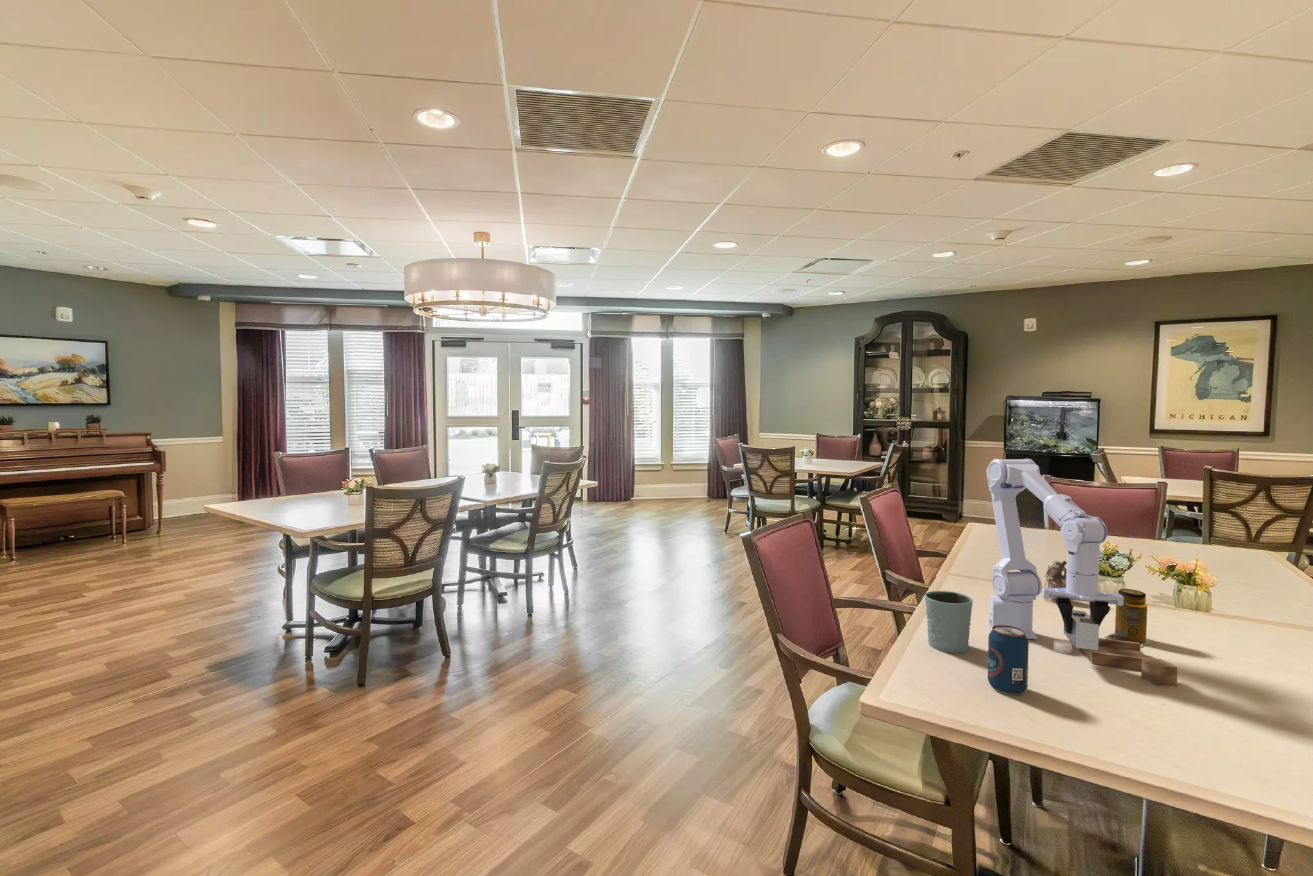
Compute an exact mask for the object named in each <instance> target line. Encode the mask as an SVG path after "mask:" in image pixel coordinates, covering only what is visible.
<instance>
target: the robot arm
mask: <svg viewBox="0 0 1313 876" xmlns="http://www.w3.org/2000/svg"><path fill="white" fill-rule="evenodd" d="M985 472H986V479H987V484H988V491H989V492H990V494H991V500H992V501H991V502H992V507H993V508H992V509H993V513H994V519H995V527H996V533H997V539H998V540H997V541H998V547H999V551H1000V560H999V561H998V562H996V564H995V565H994V566H993V567H992V577H991V578H992V579H991V586H992V589H993V591H994V593H995V594H996V595H990V596H989V604H988V605H989V606H988V626H989V628H990V631H992V627H993V626H996V625H1006V626H1012V627H1016V628H1019V629H1021V630H1023V631H1024V632H1025V636H1026V638H1027V640H1028V639H1029V640H1038V637H1037V635H1036V634H1035V633H1034V631H1033V619H1034V618H1033V617H1034V601H1037V597H1038V596H1039V595H1041V596H1042V597H1043V598H1046V599H1049V598H1054V599H1055V602H1056V603H1057V604H1056V603H1055V604H1056V605H1057V608H1058V610H1059V612H1060V616H1061V618H1062V621H1063V628H1064V627H1065V631H1066V632H1067V633H1068V634H1071V629H1072V626H1071V618H1072V611H1073V610H1074V606H1073V604H1072V601H1076V602H1077V601H1078V602H1087V603H1089V615H1090V616H1091V617H1092V618H1093V619H1094V620H1095V621H1096V622H1097V623H1098V624H1099V628H1100V627H1101V624H1102V623H1103V621H1104V619H1105V617H1106V616H1107V615H1108V614H1109V612H1110V611H1111V606H1109V604H1110V605H1115V606H1116V605H1118V606H1123V598H1124V597H1122V596H1121V595H1119V593H1118V594H1117V593H1110V592H1103V591H1099V576H1100V575H1099V574H1100V547H1101V546H1100V544H1102V543H1104V542H1105V541H1106V539H1107V537H1108V528H1107V526H1106V524H1105V523H1104V521H1103V519H1102V518H1100V517H1098V516H1093V515H1090V514H1087V513H1086V512H1085V511H1084V509H1082V508H1081V507H1080V506H1079V505H1078V504H1076V503H1075V502H1074V501H1073V499H1072V497H1071V496H1070V495H1067V494H1064V493H1059V494H1058V492H1056V490H1055V489H1054V488H1053V487H1052V486H1051V485H1050V484H1049V483H1048V481H1047V480H1046V478H1044V477H1043V476H1042V475H1041V474H1040V473H1041V472H1040V466H1039V465H1037V464H1036V462H1035V461H1034V460H1033V459H1030V458H1023V459H1022V458H1020V459H1006V458H1005V459H1000V458H994V459H993V460H991V461H990V463H989V465H988V466H987V468H986V470H985ZM1026 489H1027V491H1029V492H1030V493H1032V495H1034V496H1035V497H1036V498H1038V499H1039V500H1040V501H1041V502H1042V503H1043V511H1044V512H1045V513H1046V514H1047V515H1048V516H1049V517H1050V518H1051V519H1052V521H1054V522H1055V523H1056V525H1057V526H1058V527H1059V528H1060V533H1061V534H1060V535H1061V537H1062V539H1063V541H1064V549H1065V551H1066V562H1067V563H1066V569H1067V570H1066V588H1044V586H1043V583H1042V580H1041V577H1040V576H1039V574H1038V571H1037V566H1036V565H1035V564H1033V563H1032V562H1030V561H1029V560H1028V559H1027V558H1026V554H1025V547H1024V542H1023V541H1024V540H1023V535H1022V530H1021V523H1020V517H1019V512H1018V506H1017V500H1016V497H1017V496H1018V494H1020V493H1021V492H1024V490H1026ZM1014 570H1015V571H1014ZM1042 597H1041V598H1042ZM1070 600H1071V601H1070Z"/></svg>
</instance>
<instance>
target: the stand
mask: <svg viewBox="0 0 1313 876" xmlns="http://www.w3.org/2000/svg"><path fill="white" fill-rule="evenodd" d="M1078 649H1079V650H1080V651H1081V653H1082V654H1083V655H1084V656H1085V657H1086V659H1087V660H1089V662H1090V663H1091V664H1092V665H1098V666H1107V667H1116V668H1122V669H1123V668H1124V669H1130V670H1138V671H1141V668H1142V659H1154V658H1151V657H1148V656H1147V655H1146V654H1145V653H1144V652H1142V651H1141V647H1140V643H1139V642H1130V641H1121V640H1112V639H1107V638H1104V637H1103V638H1102V637H1099V641H1098V650H1091V649H1083V648H1078Z"/></svg>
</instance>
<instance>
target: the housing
mask: <svg viewBox="0 0 1313 876" xmlns="http://www.w3.org/2000/svg"><path fill="white" fill-rule="evenodd" d="M1071 626H1072V629H1071V634H1068V633H1067V632H1066V631H1065V627H1064V626H1063V634H1064V636H1065V637H1066V638H1067V639H1068V640H1069V642H1070V643H1072V646H1073V647H1075V649H1076V648H1077V649H1079V648H1083V649H1091V650H1098V641H1099V638H1100V637H1099V633H1100V627H1099V624H1098V623H1097V622H1096V621H1095V620H1094V619H1093V618H1092V617H1091V616H1090V613H1088V612H1087V611H1084V610H1075V609H1073V611H1072V618H1071Z"/></svg>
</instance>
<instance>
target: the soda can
mask: <svg viewBox="0 0 1313 876" xmlns="http://www.w3.org/2000/svg"><path fill="white" fill-rule="evenodd" d="M987 647H988V650H987V682H988V683H989V685H990V686H991V688H992V689H993V690H995V691H997V692H998V693H1002V694H1003V695H1004V694H1005V695H1009V696H1020V695H1021V696H1022V695H1023V693H1024V692H1026V690H1027V688H1028V683H1029V682H1028V679H1029V675H1028V674H1029V640H1028V639H1027V638H1026V636H1025V632H1024V631H1023V630H1021V629H1019V628H1016V627H1012V626H1006V625H996V626H993V627H992V630H990V632H989V634H988V646H987Z"/></svg>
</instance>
